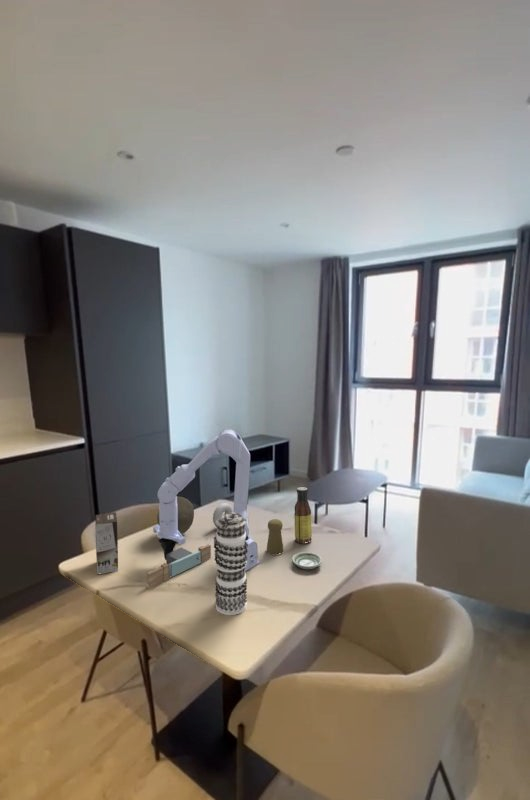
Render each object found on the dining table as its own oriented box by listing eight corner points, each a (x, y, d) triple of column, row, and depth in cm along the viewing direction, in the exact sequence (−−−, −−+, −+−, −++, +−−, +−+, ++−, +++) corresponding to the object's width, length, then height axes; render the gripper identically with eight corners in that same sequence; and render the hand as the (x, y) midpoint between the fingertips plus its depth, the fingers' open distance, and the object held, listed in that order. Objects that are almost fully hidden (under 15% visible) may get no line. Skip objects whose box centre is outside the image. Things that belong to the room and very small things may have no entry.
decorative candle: (224, 592, 110) (223, 507, 108) (253, 599, 107) (253, 512, 105) (207, 610, 102) (206, 519, 100) (238, 619, 99) (238, 525, 96)
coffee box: (118, 571, 122) (117, 521, 120) (96, 575, 119) (94, 524, 118) (117, 557, 130) (116, 511, 129) (97, 561, 128) (95, 514, 126)
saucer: (299, 555, 132) (299, 549, 132) (326, 563, 128) (326, 556, 127) (286, 568, 124) (286, 561, 124) (314, 576, 119) (314, 569, 119)
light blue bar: (202, 564, 126) (202, 552, 125) (170, 579, 117) (170, 566, 116) (198, 562, 127) (198, 550, 127) (166, 577, 118) (166, 564, 117)
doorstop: (193, 564, 126) (193, 553, 125) (178, 572, 121) (178, 560, 120) (181, 558, 129) (181, 547, 129) (166, 565, 125) (166, 554, 124)
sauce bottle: (314, 539, 144) (315, 487, 143) (306, 546, 139) (307, 492, 137) (298, 535, 148) (299, 484, 146) (291, 541, 143) (291, 489, 141)
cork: (278, 556, 131) (278, 525, 130) (263, 552, 134) (263, 521, 134) (286, 549, 136) (286, 519, 135) (271, 545, 140) (272, 515, 139)
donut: (217, 532, 150) (216, 507, 149) (210, 530, 152) (210, 505, 151) (234, 524, 158) (234, 501, 157) (228, 522, 160) (228, 499, 159)
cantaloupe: (150, 535, 147) (149, 497, 146) (183, 525, 157) (182, 489, 155) (168, 548, 137) (167, 507, 135) (202, 536, 146) (201, 498, 145)
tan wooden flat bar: (211, 558, 130) (211, 544, 130) (149, 589, 112) (149, 573, 111) (207, 556, 131) (207, 543, 131) (146, 587, 113) (146, 571, 112)
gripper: (144, 516, 126) (145, 556, 127) (172, 529, 117) (172, 571, 118) (163, 510, 132) (163, 548, 133) (190, 521, 122) (190, 562, 124)
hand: (168, 559), depth 126 cm, fingers closed, pressing on doorstop
